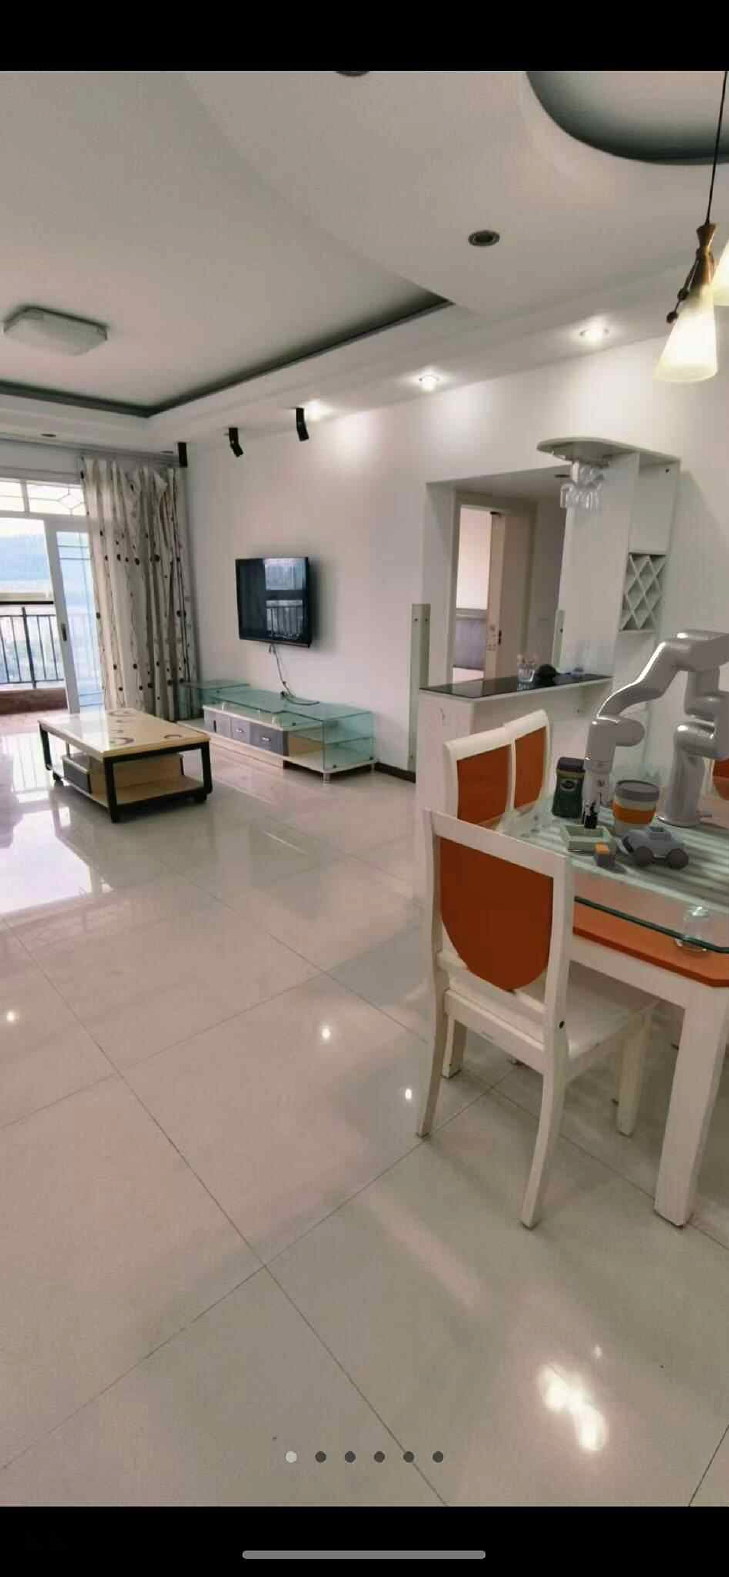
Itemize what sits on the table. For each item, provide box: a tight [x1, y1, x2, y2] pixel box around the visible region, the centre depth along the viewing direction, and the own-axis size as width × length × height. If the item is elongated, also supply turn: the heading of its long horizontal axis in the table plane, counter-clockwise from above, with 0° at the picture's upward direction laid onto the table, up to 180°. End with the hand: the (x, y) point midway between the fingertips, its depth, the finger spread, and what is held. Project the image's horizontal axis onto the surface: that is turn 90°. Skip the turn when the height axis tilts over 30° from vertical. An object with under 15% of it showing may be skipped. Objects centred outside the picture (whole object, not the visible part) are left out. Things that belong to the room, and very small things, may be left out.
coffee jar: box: [550, 756, 586, 818], centre depth 210 cm, size 10×8×19 cm
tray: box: [558, 823, 618, 854], centre depth 190 cm, size 13×13×3 cm
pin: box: [583, 801, 594, 835], centre depth 188 cm, size 4×4×9 cm
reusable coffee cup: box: [612, 779, 661, 838], centre depth 196 cm, size 13×13×15 cm
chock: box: [592, 844, 617, 868], centre depth 177 cm, size 4×4×4 cm
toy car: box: [621, 825, 690, 870], centre depth 180 cm, size 14×12×8 cm
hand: (588, 825), depth 189 cm, fingers closed on pin, 2 cm apart
